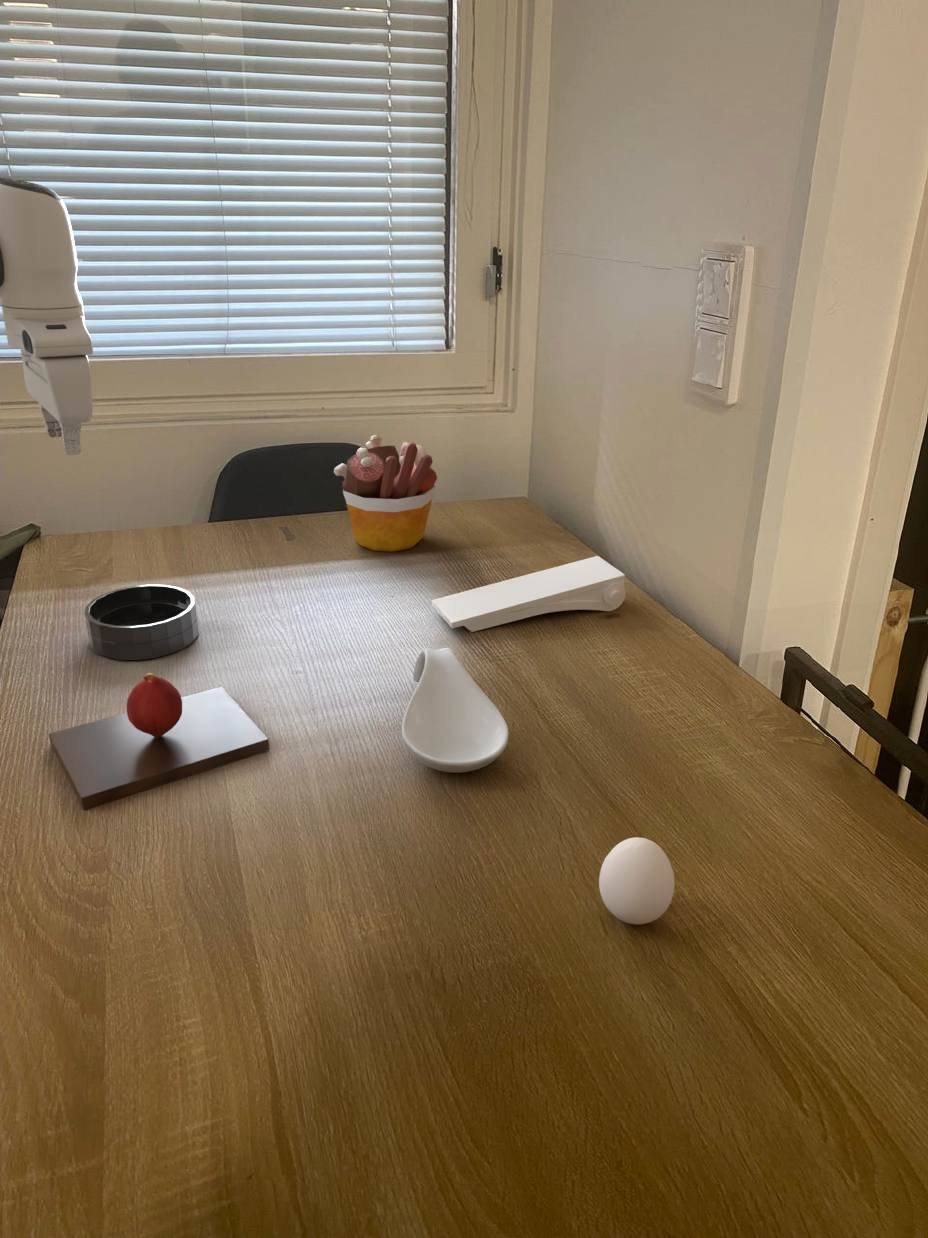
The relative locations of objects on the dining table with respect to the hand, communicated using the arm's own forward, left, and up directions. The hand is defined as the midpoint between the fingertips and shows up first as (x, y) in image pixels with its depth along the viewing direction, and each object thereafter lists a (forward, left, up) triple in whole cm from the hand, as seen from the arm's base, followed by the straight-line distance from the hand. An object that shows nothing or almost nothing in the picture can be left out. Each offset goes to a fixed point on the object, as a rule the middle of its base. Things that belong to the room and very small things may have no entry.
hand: (63, 444), depth 114 cm
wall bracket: (+57, -25, -27) cm, 68 cm away
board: (-1, -32, -27) cm, 42 cm away
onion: (-1, -32, -26) cm, 41 cm away
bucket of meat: (+54, +11, -27) cm, 61 cm away
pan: (+6, -4, -27) cm, 28 cm away
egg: (+25, -80, -27) cm, 88 cm away
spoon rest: (+28, -46, -27) cm, 60 cm away
